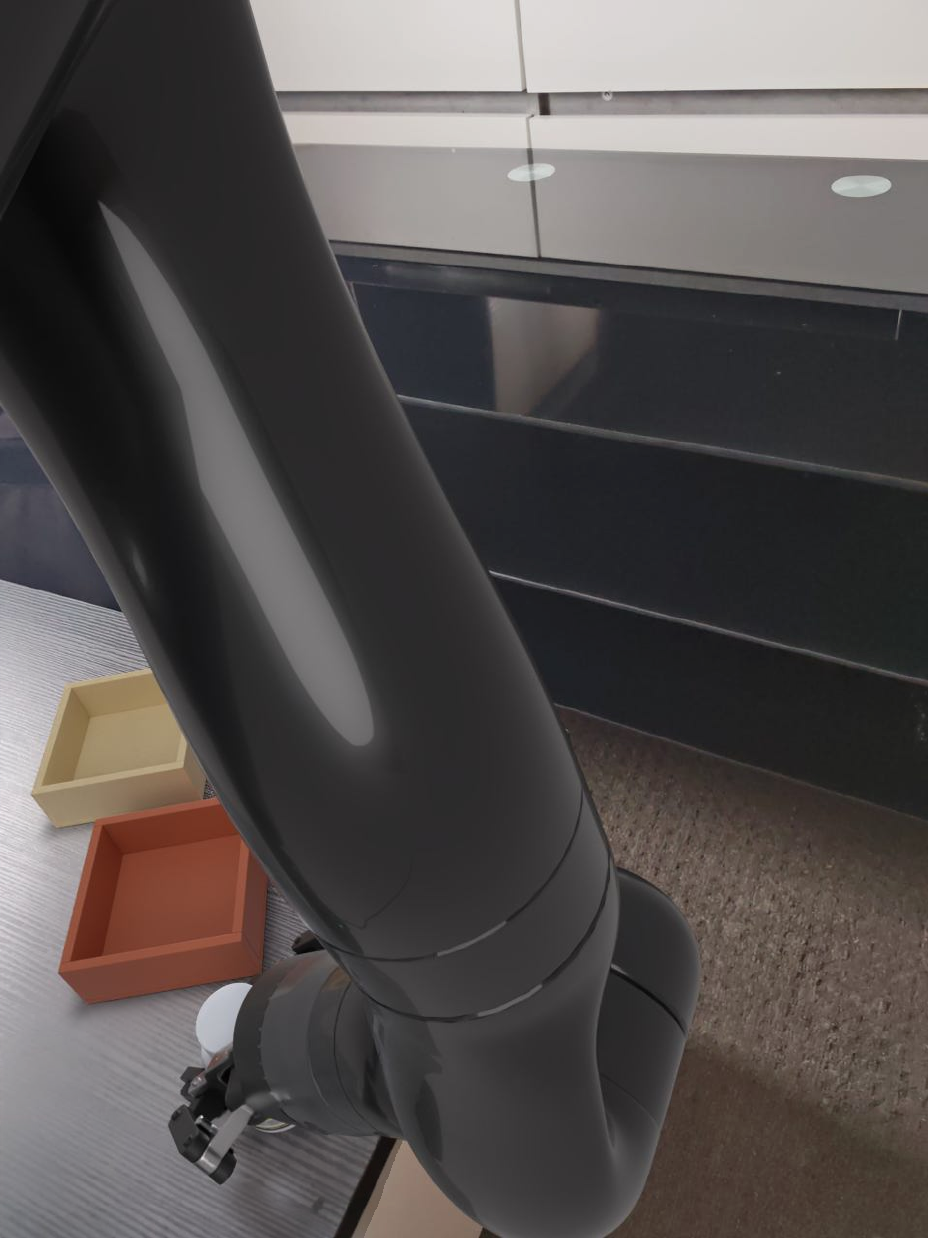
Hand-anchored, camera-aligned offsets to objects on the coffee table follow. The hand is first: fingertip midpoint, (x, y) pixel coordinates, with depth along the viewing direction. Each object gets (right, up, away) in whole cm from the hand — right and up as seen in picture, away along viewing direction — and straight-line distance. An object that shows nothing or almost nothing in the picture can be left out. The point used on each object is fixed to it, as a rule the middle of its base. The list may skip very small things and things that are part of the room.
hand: (230, 1036), depth 54 cm
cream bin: (-14, +13, +26) cm, 32 cm away
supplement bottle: (+2, -5, +3) cm, 6 cm away
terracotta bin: (-7, +3, +14) cm, 16 cm away
